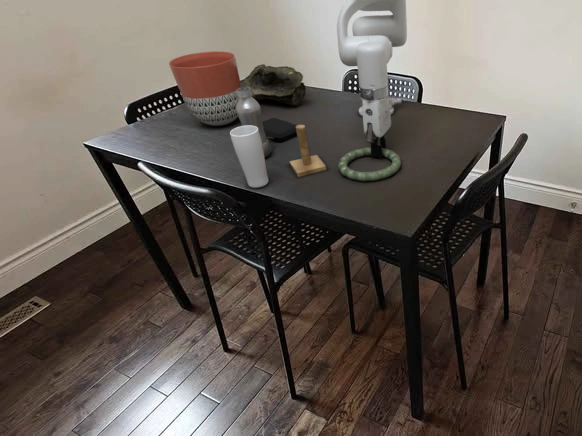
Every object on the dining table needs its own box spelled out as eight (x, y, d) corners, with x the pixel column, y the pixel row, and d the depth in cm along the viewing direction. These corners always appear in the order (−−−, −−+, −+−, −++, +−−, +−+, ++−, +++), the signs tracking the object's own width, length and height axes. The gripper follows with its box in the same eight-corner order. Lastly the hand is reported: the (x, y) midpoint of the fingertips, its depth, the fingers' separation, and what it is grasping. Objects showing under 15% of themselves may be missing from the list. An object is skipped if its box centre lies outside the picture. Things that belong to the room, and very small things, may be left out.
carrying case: (248, 134, 136) (277, 145, 129) (246, 125, 134) (275, 136, 127) (275, 123, 143) (304, 133, 136) (273, 115, 141) (302, 124, 134)
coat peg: (317, 158, 121) (310, 118, 114) (326, 169, 115) (319, 128, 108) (290, 165, 118) (281, 124, 111) (298, 177, 112) (289, 135, 105)
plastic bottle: (276, 153, 125) (261, 86, 113) (263, 163, 119) (245, 94, 108) (258, 150, 126) (241, 84, 115) (244, 160, 121) (224, 92, 110)
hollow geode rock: (309, 120, 158) (325, 84, 158) (286, 104, 146) (303, 66, 147) (260, 104, 170) (275, 71, 171) (236, 89, 159) (252, 53, 160)
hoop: (384, 148, 126) (384, 141, 124) (411, 172, 113) (411, 164, 112) (330, 162, 119) (329, 154, 118) (353, 189, 107) (352, 181, 105)
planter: (178, 129, 141) (154, 64, 128) (220, 109, 155) (202, 49, 143) (223, 137, 135) (202, 70, 122) (262, 116, 149) (247, 53, 137)
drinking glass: (248, 178, 112) (233, 125, 104) (274, 176, 113) (261, 124, 104) (242, 191, 107) (225, 137, 98) (269, 189, 107) (255, 135, 99)
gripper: (376, 103, 104) (381, 169, 114) (396, 83, 117) (399, 144, 127) (349, 101, 106) (356, 165, 116) (371, 82, 118) (376, 141, 129)
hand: (379, 154), depth 122 cm, fingers closed
